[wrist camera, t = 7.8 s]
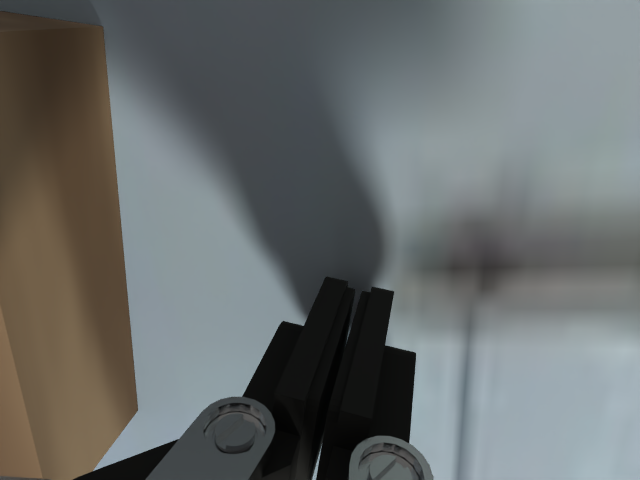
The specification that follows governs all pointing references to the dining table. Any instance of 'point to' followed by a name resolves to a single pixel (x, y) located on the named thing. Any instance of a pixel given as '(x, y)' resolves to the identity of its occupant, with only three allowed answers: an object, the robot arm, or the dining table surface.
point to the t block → (59, 254)
